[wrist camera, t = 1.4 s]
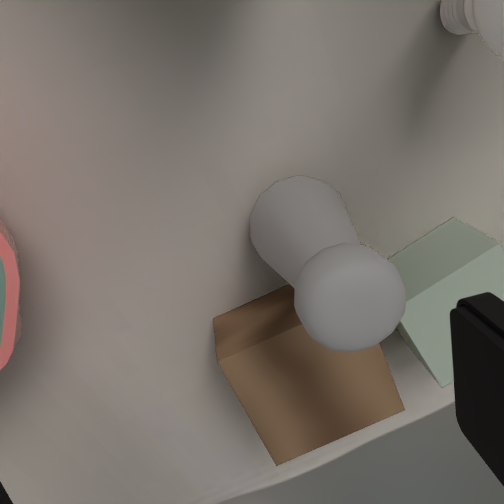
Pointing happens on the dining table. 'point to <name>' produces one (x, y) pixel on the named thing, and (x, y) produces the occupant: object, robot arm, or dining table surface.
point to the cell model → (9, 295)
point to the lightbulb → (476, 20)
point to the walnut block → (299, 378)
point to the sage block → (444, 288)
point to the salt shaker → (327, 265)
